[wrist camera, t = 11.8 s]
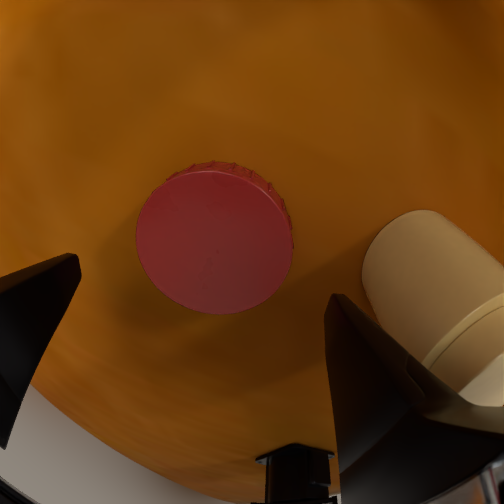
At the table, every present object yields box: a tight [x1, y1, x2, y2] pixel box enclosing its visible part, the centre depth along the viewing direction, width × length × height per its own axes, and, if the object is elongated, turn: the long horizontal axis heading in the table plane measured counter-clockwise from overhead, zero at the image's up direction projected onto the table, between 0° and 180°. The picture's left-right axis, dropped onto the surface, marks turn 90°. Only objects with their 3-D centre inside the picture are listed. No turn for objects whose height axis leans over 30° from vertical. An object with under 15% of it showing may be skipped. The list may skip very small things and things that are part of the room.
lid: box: [136, 161, 294, 314], centre depth 12 cm, size 7×7×2 cm
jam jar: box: [362, 210, 504, 407], centre depth 9 cm, size 6×6×9 cm
